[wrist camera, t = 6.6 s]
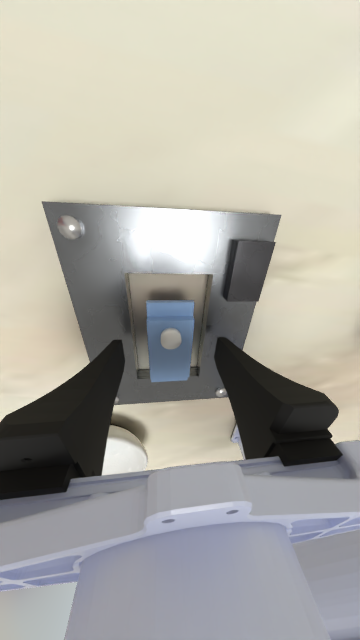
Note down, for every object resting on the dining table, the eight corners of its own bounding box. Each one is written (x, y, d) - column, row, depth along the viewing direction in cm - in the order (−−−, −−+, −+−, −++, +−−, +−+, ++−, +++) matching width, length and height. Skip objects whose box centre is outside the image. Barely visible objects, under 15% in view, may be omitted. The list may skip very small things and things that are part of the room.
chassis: (225, 388, 21) (232, 405, 19) (106, 395, 19) (100, 414, 17) (270, 215, 12) (292, 214, 10) (53, 203, 10) (29, 199, 8)
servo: (183, 357, 18) (189, 391, 14) (152, 359, 17) (150, 394, 14) (188, 288, 14) (197, 310, 10) (148, 288, 14) (144, 310, 10)
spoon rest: (83, 397, 19) (47, 480, 13) (165, 425, 24) (167, 496, 18) (18, 478, 27) (-25, 554, 21) (89, 487, 32) (72, 552, 25)
